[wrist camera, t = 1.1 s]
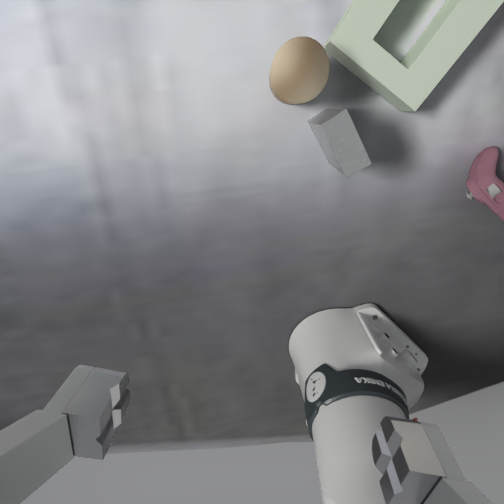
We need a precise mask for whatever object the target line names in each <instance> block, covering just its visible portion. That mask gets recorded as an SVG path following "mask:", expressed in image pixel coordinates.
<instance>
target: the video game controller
mask: <svg viewBox="0 0 504 504" xmlns="http://www.w3.org/2000/svg"><path fill="white" fill-rule="evenodd" d="M498 157H499V150H498V148H496V147H493V146H492V147H488V148H486V149H484V150H483V151H481V152H480V154H479V155H478V156H477V157H476V158H475V160H474V162H473V163H472V166H471V168H470V171H469V176H468V180H467V181H466V185H467V187H468V189H469V191H470V192H469V191H467V196H468V198H470V199H472V200H474V197H475V198H476V199H477V200H478V201H479V202H480V203H482V204H487V205H488V206H489V207H490V208H491V209H492V210H493V212H495V213H496V214H497V215H498V216H499V217H500V218H501V219H502V220H503V222H504V182H502V181H501V180H500V179H499V178H498V177H497V176H496V165H497V161H498Z"/></svg>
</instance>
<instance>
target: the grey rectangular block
mask: <svg viewBox="0 0 504 504" xmlns="http://www.w3.org/2000/svg"><path fill="white" fill-rule="evenodd" d="M308 123H309V125H310V127H311V129H312V131H313V133H314V135H315V137H316V139H317V141H318V143H319V145H320V147H321V149H322V151H323V153H324V155H325V157H326V158H327V160H328V162H329V163H330V164H331V165H332V166H333V167H334V168H336V169H337V170H338V171H339V172H340V173H341V174H343V175H344V176H345V177H346V178H348V177H350V176H351V175H353V174H355V173H357V172H358V171H360V170H362V169H364V168H365V167H367V166H369V165H371V164H372V163H371V161H370V159H369V157H368V154H367V152H366V150H365V148H364V146H363V143H362V141H361V139H360V137H359V135H358V132H357V130H356V128H355V126H354V124H353V121H352V119H351V117H350V115H349V113H348V110H347V109H326V110H324V111H323V112H321V113H319V114H318V115H316V116H315V117H313V118H312V119H310V120H309V121H308Z"/></svg>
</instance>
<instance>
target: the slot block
mask: <svg viewBox="0 0 504 504" xmlns="http://www.w3.org/2000/svg"><path fill="white" fill-rule="evenodd" d="M398 2H399V0H353V1H352V2H351V4H350V6H349V7H348V9H347V10H346V12H345V14H344V15H343V17H342V18H341V20H340V21H339V23H338V25H337V26H336V28H335V29H334V31H333V33H332V34H331V36H330V37H329V39H328V41H327V42H326V44H325V45H324V47H323V48H324V49H325V51H326V52H327V53H328V54H330V55H331V56H332V57H333V58H335V59H336V60H337V61H338V62H339V63H341V64H342V65H343V66H344V67H346V68H347V69H348V70H349V71H351V72H352V73H353V74H354V75H356V76H357V77H358V78H359V79H360V80H362V81H363V82H364V83H365V84H367V85H368V86H369V87H370V88H372V89H373V90H374V91H375V92H377V93H378V94H379V95H380V96H382V97H383V98H384V99H385V100H386V101H388V102H389V103H390V104H391V105H393V106H394V107H395V108H396V109H398V110H399V111H416V110H417V109H418V108H419V106H420V105H421V104H422V103H423V101H424V100H425V99H426V98H427V96H428V95H429V94H430V93H431V91H432V90H433V89H434V88H435V86H436V85H437V84H438V83H439V81H440V80H441V79H442V78H443V76H444V75H445V74H446V73H447V71H448V70H449V69H450V68H451V66H452V65H453V64H454V63H455V61H456V60H457V59H458V58H459V56H460V55H461V54H462V53H463V51H464V50H465V49H466V48H467V46H468V45H469V44H470V43H471V42H472V40H473V39H474V38H475V37H476V35H477V34H478V33H479V32H480V30H481V29H482V28H483V27H484V25H485V24H486V23H487V22H488V20H489V19H490V18H491V17H492V15H493V14H494V13H495V12H496V10H497V9H498V8H499V7H500V5H501V4H502V3H503V2H504V0H446V1H445V3H444V4H443V6H442V7H441V8H440V10H439V11H438V12H437V14H436V15H435V16H434V18H433V19H432V21H431V22H430V23H429V25H428V26H427V27H426V29H425V30H424V31H423V33H422V34H421V35H420V37H419V38H418V40H417V41H416V42H415V44H414V45H413V46H412V48H411V49H410V50H409V52H408V53H407V54H406V56H405V57H404V59H403V60H402V61H401V63H400V62H399V61H397V60H396V59H395V58H394V57H393V56H392V55H390V54H389V53H388V52H387V51H386V50H385V49H383V48H382V47H381V46H380V45H379V44H377V43H376V42H375V41H374V40H373V38H374V37H375V35H376V34H377V32H378V31H379V29H380V28H381V26H382V25H383V24H384V22H385V21H386V19H387V18H388V16H389V15H390V13H391V12H392V10H393V9H394V7H395V6H396V4H397V3H398Z"/></svg>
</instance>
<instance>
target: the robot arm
mask: <svg viewBox="0 0 504 504" xmlns="http://www.w3.org/2000/svg"><path fill="white" fill-rule="evenodd" d="M375 315H376V316H375ZM373 316H375V317H373ZM289 352H290V356H291V358H292V360H293V363H294V366H295V378H296V382H297V383H298V384H299V385H300V388H301V391H302V395H303V399H304V403H305V413H306V424H307V427H308V431H309V435H310V437H311V439H312V440H313V442H314V447H315V454H316V461H317V466H318V474H319V481H320V487H321V494H322V500H323V504H493V503H492V502H491V501H490V500H489V499H488V498H487V497H486V496H485V495H484V494H483V493H482V492H481V491H480V490H479V489H478V488H477V487H476V486H475V485H474V484H473V483H472V482H468V481H466V480H465V478H464V476H463V474H462V472H461V470H460V468H459V466H458V464H457V462H456V460H455V458H454V456H453V454H452V453H451V451H450V449H449V447H448V445H447V443H446V441H445V439H444V437H443V435H442V433H441V431H440V429H439V428H438V427H437V426H436V425H435V424H431V423H425V422H419V421H417V418H414V419H413V420H409V412H408V409H410V408H411V407H412V406H413V405H414V404H415V403H416V402H417V401H418V399H419V398H420V397H421V395H422V393H423V390H424V382H423V379H422V378H421V374H422V373H423V372H424V370H425V368H426V366H427V363H428V358H427V355H426V354H425V353H424V352H423V351H422V350H421V349H420V348H419V347H418V346H417V345H416V344H415V343H414V342H413V341H412V340H411V339H410V338H409V337H408V336H407V335H406V334H405V333H404V332H403V331H402V330H401V329H400V328H399V327H398V326H397V325H396V324H395V323H394V322H393V321H392V320H391V319H390V318H389V317H387V316H386V315H385V314H384V313H383V312H382V311H381V310H380V309H379V308H378V307H377V306H376V305H375V304H372V303H368V304H363V305H360V306H357V307H354V308H337V309H328V310H324V311H320V312H317V313H315V314H313V315H311V316H309V317H307V318H306V319H304V320H303V321H302V322H301V323H300V324H299V325H298V326H297V327H296V328H295V330H294V331H293V333H292V335H291V338H290V341H289ZM128 383H129V374H127V373H122V372H117V371H112V370H107V369H102V368H97V367H91V366H85V365H79V366H78V367H76V368H75V369H74V370H73V372H72V373H71V374H70V376H69V377H68V378H67V379H66V381H65V382H64V383H63V385H62V386H61V387H60V388H59V390H58V391H57V392H56V394H55V395H54V396H53V397H52V399H51V400H50V401H49V403H48V404H47V405H46V406H45V408H44V409H43V410H36V411H34V412H32V413H31V414H29V415H27V416H25V417H24V418H22V419H20V420H18V421H17V422H15V423H13V424H11V425H10V426H8V427H6V428H4V429H3V430H1V431H0V504H20V503H21V502H22V501H23V500H25V499H26V498H27V497H28V496H30V495H31V494H32V493H33V492H34V491H35V490H37V489H38V488H39V487H40V486H41V485H42V484H44V483H45V482H46V481H47V480H48V479H50V478H51V477H52V476H53V475H54V474H55V473H57V472H58V471H59V470H60V469H61V468H62V467H64V466H65V465H66V464H67V463H68V462H69V461H71V460H72V459H73V458H74V456H78V457H85V458H93V459H100V460H103V459H104V457H105V455H106V453H107V451H108V449H109V447H110V445H111V443H112V441H113V439H114V428H116V427H117V426H118V425H120V424H121V423H122V421H123V419H124V417H125V414H126V411H127V408H128V405H129V400H130V391H129V390H128V389H127V388H126V387H127V385H128Z"/></svg>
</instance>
